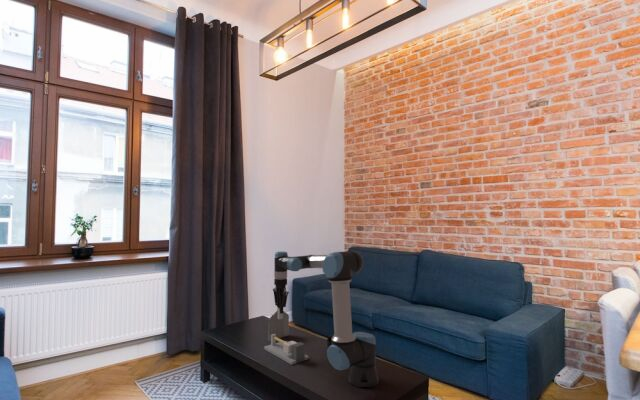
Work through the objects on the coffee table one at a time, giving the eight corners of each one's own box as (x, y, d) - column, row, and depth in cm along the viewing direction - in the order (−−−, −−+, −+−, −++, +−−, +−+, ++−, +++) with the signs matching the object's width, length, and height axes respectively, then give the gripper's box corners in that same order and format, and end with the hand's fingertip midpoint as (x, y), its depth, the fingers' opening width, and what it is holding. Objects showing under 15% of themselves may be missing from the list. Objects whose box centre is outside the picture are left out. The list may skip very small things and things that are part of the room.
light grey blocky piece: (308, 358, 202) (308, 342, 202) (291, 364, 194) (291, 348, 195) (280, 344, 223) (280, 329, 224) (264, 349, 216) (264, 334, 216)
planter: (281, 332, 245) (282, 303, 245) (288, 335, 239) (289, 306, 240) (261, 337, 234) (262, 308, 234) (268, 341, 228) (269, 310, 228)
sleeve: (297, 350, 204) (297, 343, 204) (288, 353, 200) (288, 345, 200) (292, 348, 208) (292, 340, 208) (283, 351, 203) (283, 343, 204)
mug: (337, 361, 199) (337, 345, 199) (323, 354, 208) (323, 339, 209) (349, 357, 205) (349, 341, 206) (335, 350, 215) (335, 335, 215)
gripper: (292, 279, 207) (292, 320, 206) (279, 275, 217) (279, 314, 216) (282, 280, 202) (281, 322, 202) (269, 277, 212) (268, 317, 211)
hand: (280, 318), depth 209 cm, fingers closed
